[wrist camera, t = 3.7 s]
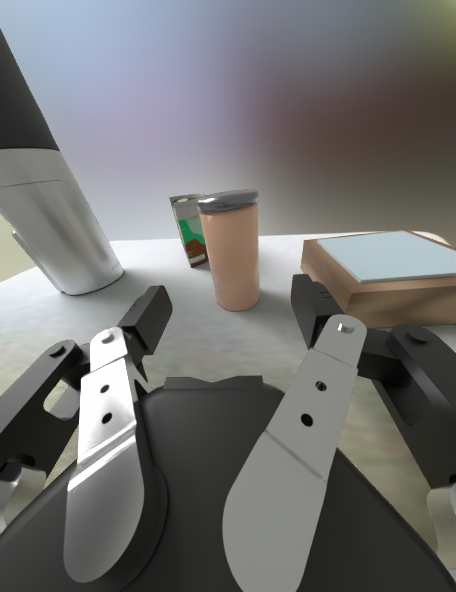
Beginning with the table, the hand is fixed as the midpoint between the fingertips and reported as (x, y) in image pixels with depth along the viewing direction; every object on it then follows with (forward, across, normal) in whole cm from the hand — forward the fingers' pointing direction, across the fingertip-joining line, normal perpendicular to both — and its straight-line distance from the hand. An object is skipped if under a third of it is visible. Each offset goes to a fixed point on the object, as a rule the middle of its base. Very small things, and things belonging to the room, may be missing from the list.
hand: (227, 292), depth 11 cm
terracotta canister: (+8, 0, +6) cm, 10 cm away
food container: (+23, +7, +7) cm, 25 cm away
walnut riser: (+8, -15, +6) cm, 18 cm away
